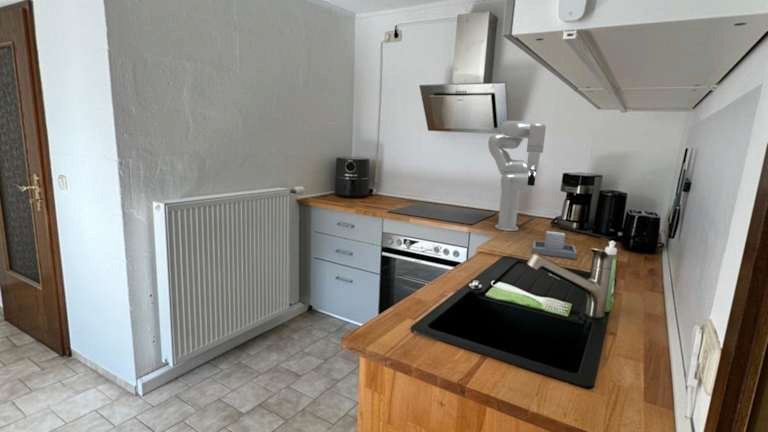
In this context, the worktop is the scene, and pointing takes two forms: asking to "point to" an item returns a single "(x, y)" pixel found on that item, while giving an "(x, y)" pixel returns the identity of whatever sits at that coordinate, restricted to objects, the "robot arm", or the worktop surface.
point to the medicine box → (554, 241)
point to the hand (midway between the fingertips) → (530, 184)
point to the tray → (555, 251)
